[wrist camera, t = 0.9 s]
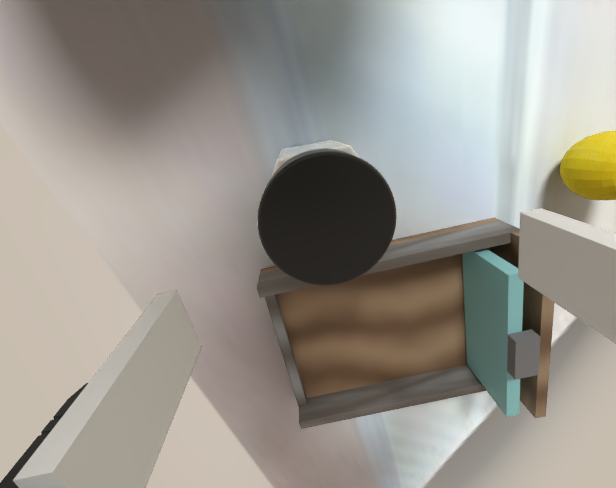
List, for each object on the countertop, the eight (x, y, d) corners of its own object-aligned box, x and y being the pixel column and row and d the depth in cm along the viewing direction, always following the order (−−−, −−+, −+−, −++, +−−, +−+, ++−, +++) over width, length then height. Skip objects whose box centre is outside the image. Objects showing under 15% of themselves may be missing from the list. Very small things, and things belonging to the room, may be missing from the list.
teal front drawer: (261, 269, 32) (251, 313, 24) (494, 217, 31) (558, 246, 24) (300, 399, 38) (302, 465, 31) (494, 358, 37) (545, 416, 30)
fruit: (607, 157, 30) (715, 167, 22) (559, 202, 31) (645, 225, 23) (575, 117, 28) (678, 113, 21) (526, 166, 29) (606, 179, 22)
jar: (275, 236, 31) (267, 299, 19) (256, 151, 28) (233, 167, 17) (365, 220, 30) (408, 273, 19) (355, 133, 28) (400, 137, 16)
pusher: (461, 243, 30) (517, 281, 23) (481, 239, 30) (544, 275, 23) (467, 363, 36) (513, 426, 28) (484, 360, 36) (535, 421, 28)
